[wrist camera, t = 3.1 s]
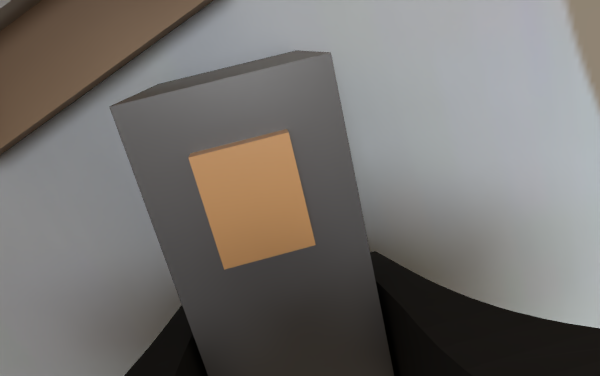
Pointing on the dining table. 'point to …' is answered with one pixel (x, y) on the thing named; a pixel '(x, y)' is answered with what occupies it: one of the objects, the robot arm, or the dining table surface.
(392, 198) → the dining table surface
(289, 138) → the grey rectangular block
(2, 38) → the cradle
